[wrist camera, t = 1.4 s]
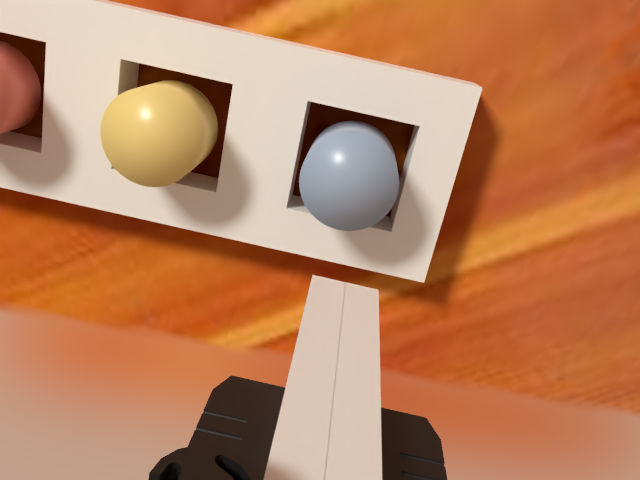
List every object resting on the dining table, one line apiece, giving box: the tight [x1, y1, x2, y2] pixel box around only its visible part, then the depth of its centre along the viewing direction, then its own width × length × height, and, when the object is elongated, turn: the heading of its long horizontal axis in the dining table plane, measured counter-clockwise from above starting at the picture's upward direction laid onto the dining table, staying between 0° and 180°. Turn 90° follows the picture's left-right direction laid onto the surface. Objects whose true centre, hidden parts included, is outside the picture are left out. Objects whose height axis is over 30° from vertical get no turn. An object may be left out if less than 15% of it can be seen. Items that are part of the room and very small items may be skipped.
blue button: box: [299, 121, 399, 231], centre depth 28 cm, size 4×4×4 cm
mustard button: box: [100, 80, 218, 187], centre depth 28 cm, size 4×4×4 cm
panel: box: [0, 0, 482, 283], centre depth 30 cm, size 28×10×2 cm, turn 78°
